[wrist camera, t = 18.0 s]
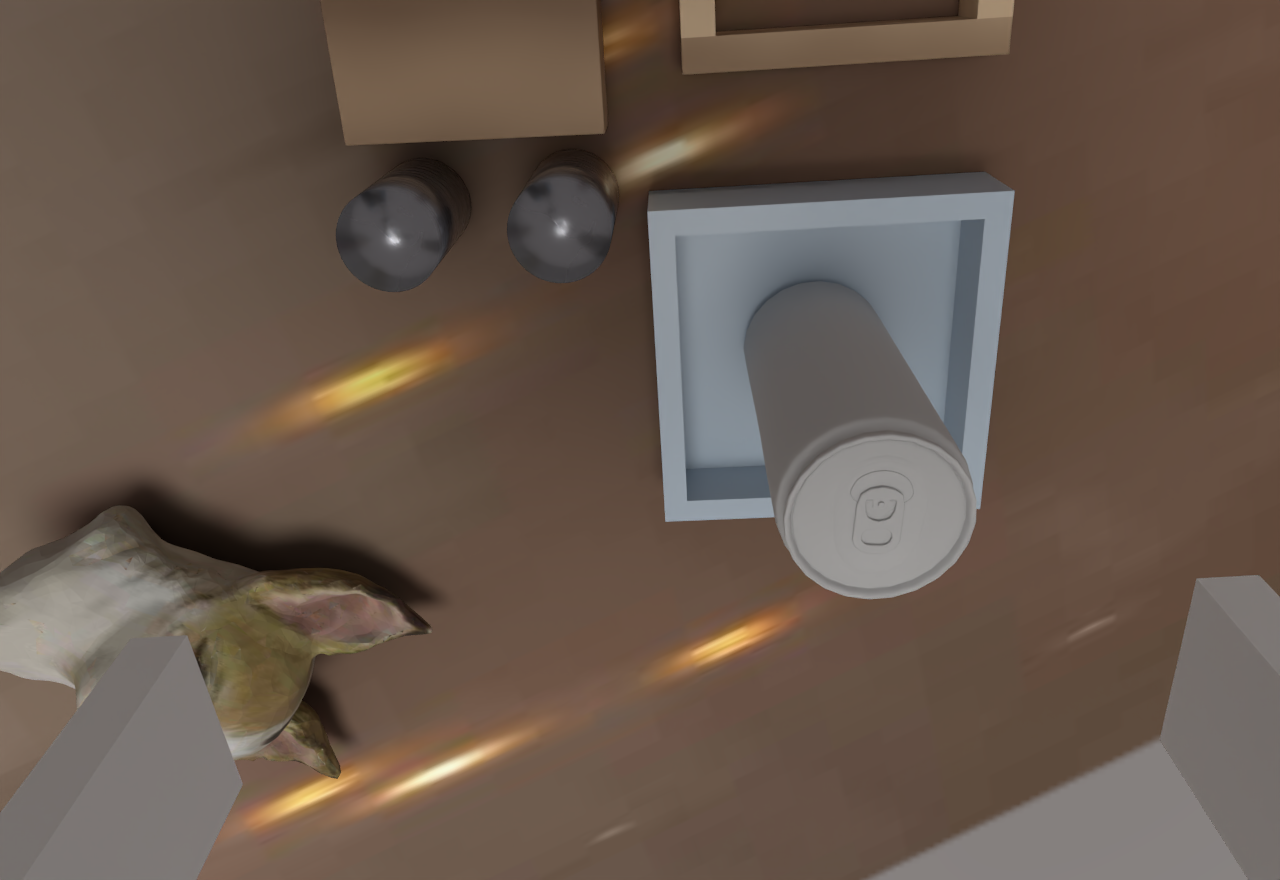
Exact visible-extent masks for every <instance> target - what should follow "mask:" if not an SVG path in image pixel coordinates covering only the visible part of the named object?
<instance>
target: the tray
mask: <svg viewBox="0 0 1280 880" xmlns="http://www.w3.org/2000/svg"><path fill="white" fill-rule="evenodd" d="M1014 192H1015V191H1014V190H1013V189H1011V188H1009V187H1008V186H1006V185H1005V184H1003V183H1002V182H1000V181H999V180H997V179H995V178H994V177H992V176H991V175H989V174H988V173H986V172H970V173H953V174H935V175H918V176H901V177H883V178H866V179H849V180H831V181H814V182H797V183H779V184H762V185H745V186H727V187H710V188H693V189H675V190H658V191H649V197H648V210H647V213H648V230H649V248H650V265H651V282H652V299H653V316H654V333H655V350H656V367H657V384H658V401H659V418H660V435H661V453H662V470H663V487H664V504H665V521H666V522H667V521H692V520H716V519H741V518H766V517H775V516H774V511H773V506H772V501H771V496H770V490H769V485H768V479H767V474H766V468H765V462H764V456H763V450H762V444H761V438H760V432H759V426H758V421H757V416H756V411H755V406H754V401H753V396H752V391H751V386H750V381H749V376H748V371H747V366H746V360H745V354H744V343H745V337H746V332H747V329H748V327H749V325H750V323H751V321H752V319H753V317H754V315H755V314H756V313H757V312H758V310H759V309H760V308H761V307H762V306H763V305H764V304H765V302H766V301H767V300H769V299H770V298H772V297H773V296H775V295H776V294H777V293H779V292H780V291H782V290H784V289H786V288H789V287H792V286H794V285H797V284H800V283H806V282H815V281H823V282H830V283H837V284H840V285H842V286H845V287H847V288H849V289H852V290H854V291H856V292H857V293H858V294H859V295H861V296H862V297H863V298H864V299H866V300H867V301H868V302H869V303H870V305H871V306H872V308H873V309H874V310H875V312H876V313H877V315H878V316H879V318H880V320H881V321H882V323H883V325H884V326H885V328H886V329H887V331H888V333H889V334H890V336H891V338H892V339H893V341H894V343H895V344H896V346H897V348H898V349H899V351H900V352H901V354H902V356H903V357H904V359H905V361H906V362H907V364H908V366H909V367H910V369H911V371H912V372H913V374H914V375H915V377H916V379H917V380H918V382H919V384H920V385H921V387H922V389H923V390H924V392H925V394H926V395H927V397H928V398H929V400H930V402H931V403H932V405H933V407H934V408H935V410H936V412H937V413H938V415H939V417H940V418H941V420H942V421H943V423H944V425H945V426H946V428H947V430H948V431H949V433H950V435H951V436H952V438H953V440H954V441H955V443H956V444H957V446H958V448H959V449H960V451H961V453H962V454H963V456H964V458H965V459H966V461H967V464H968V468H969V471H970V475H971V478H972V482H973V490H974V493H975V497H976V500H977V503H976V509H980V504H981V495H982V486H983V477H984V467H985V458H986V449H987V440H988V431H989V422H990V412H991V403H992V394H993V385H994V376H995V366H996V357H997V348H998V339H999V330H1000V321H1001V311H1002V302H1003V293H1004V284H1005V275H1006V266H1007V256H1008V247H1009V238H1010V229H1011V220H1012V211H1013V201H1014Z"/></svg>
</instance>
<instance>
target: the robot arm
mask: <svg viewBox="0 0 1280 880" xmlns="http://www.w3.org/2000/svg"><path fill="white" fill-rule="evenodd" d="M1160 741H1161V743H1162V744H1163V746H1164V748H1165V749H1166V751H1167V752H1168V754H1169V755H1170V757H1171V759H1172V760H1173V762H1174V763H1175V765H1176V767H1177V768H1178V770H1179V771H1180V773H1181V774H1182V776H1183V778H1184V779H1185V781H1186V782H1187V784H1188V785H1189V787H1190V788H1191V790H1192V792H1193V793H1194V795H1195V797H1196V798H1197V800H1198V801H1199V803H1200V804H1201V806H1202V808H1203V809H1204V811H1205V812H1206V814H1207V815H1208V817H1209V819H1210V820H1211V822H1212V823H1213V825H1214V826H1215V828H1216V830H1217V831H1218V833H1219V834H1220V836H1221V837H1222V839H1223V841H1224V842H1225V844H1226V845H1227V847H1228V848H1229V850H1230V852H1231V853H1232V855H1233V856H1234V858H1235V860H1236V861H1237V863H1238V864H1239V866H1240V867H1241V869H1242V871H1243V872H1244V874H1245V875H1246V877H1247V878H1248V880H1280V597H1279V596H1278V595H1277V594H1276V593H1275V592H1274V591H1273V590H1272V588H1271V587H1270V586H1269V585H1268V584H1267V583H1266V582H1265V581H1264V580H1263V579H1262V578H1261V577H1260V576H1259V575H1253V576H1235V577H1217V578H1200V579H1196V584H1195V588H1194V592H1193V597H1192V601H1191V606H1190V610H1189V614H1188V619H1187V623H1186V627H1185V632H1184V636H1183V640H1182V645H1181V649H1180V654H1179V658H1178V662H1177V667H1176V671H1175V675H1174V680H1173V684H1172V688H1171V693H1170V697H1169V702H1168V706H1167V710H1166V715H1165V719H1164V723H1163V728H1162V732H1161V736H1160ZM242 785H243V783H242V781H241V778H240V775H239V773H238V770H237V767H236V765H235V762H234V759H233V757H232V754H231V751H230V749H229V746H228V743H227V741H226V738H225V735H224V733H223V730H222V727H221V725H220V722H219V719H218V717H217V714H216V711H215V709H214V706H213V703H212V701H211V698H210V695H209V693H208V690H207V687H206V685H205V682H204V679H203V676H202V674H201V671H200V668H199V666H198V663H197V660H196V658H195V655H194V652H193V650H192V647H191V644H190V642H189V639H188V636H187V635H182V636H164V637H146V638H131V639H130V641H129V642H128V643H127V645H126V646H125V647H124V649H123V650H122V651H121V653H120V654H119V655H118V657H117V658H116V659H115V661H114V662H113V663H112V665H111V666H110V667H109V669H108V670H107V671H106V673H105V674H104V675H103V677H102V678H101V679H100V681H99V682H98V683H97V685H96V686H95V687H94V689H93V690H92V691H91V693H90V694H89V695H88V697H87V698H86V699H85V701H84V702H83V703H82V705H81V706H80V707H79V709H78V710H77V711H76V713H75V714H74V715H73V717H72V718H71V719H70V721H69V722H68V723H67V725H66V726H65V727H64V729H63V730H62V731H61V733H60V734H59V735H58V737H57V738H56V739H55V741H54V742H53V743H52V745H51V746H50V747H49V749H48V750H47V751H46V753H45V754H44V755H43V757H42V758H41V759H40V761H39V762H38V763H37V765H36V766H35V767H34V769H33V770H32V771H31V773H30V774H29V775H28V777H27V778H26V779H25V781H24V782H23V783H22V785H21V786H20V787H19V789H18V790H17V791H16V793H15V794H14V795H13V797H12V798H11V799H10V801H9V802H8V803H7V805H6V806H5V807H4V809H3V810H2V811H1V813H0V880H196V879H197V877H198V875H199V873H200V871H201V869H202V867H203V865H204V863H205V861H206V859H207V857H208V855H209V853H210V851H211V848H212V846H213V844H214V842H215V840H216V838H217V836H218V834H219V832H220V830H221V828H222V826H223V824H224V822H225V820H226V818H227V816H228V814H229V812H230V810H231V807H232V805H233V803H234V801H235V799H236V797H237V795H238V793H239V791H240V789H241V787H242Z"/></svg>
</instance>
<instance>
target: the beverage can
mask: <svg viewBox="0 0 1280 880" xmlns="http://www.w3.org/2000/svg"><path fill="white" fill-rule="evenodd" d="M744 354H745V360H746V366H747V371H748V376H749V381H750V386H751V391H752V396H753V401H754V406H755V411H756V416H757V421H758V426H759V432H760V438H761V444H762V450H763V456H764V462H765V468H766V474H767V479H768V485H769V490H770V496H771V501H772V506H773V511H774V516H775V521H776V524H777V527H778V530H779V532H780V535H781V537H782V540H783V542H784V545H785V546H786V547H787V549H788V550H789V551H790V554H791V556H792V559H793V560H794V561H795V562H796V564H797V565H798V566H799V567H800V569H801V570H802V571H803V572H804V573H805V575H806V576H808V577H809V578H810V579H812V580H813V581H815V582H816V583H818V584H819V585H820V586H822V587H823V588H825V589H828V590H830V591H833V592H836V593H838V594H841V595H844V596H848V597H856V598H863V599H878V598H889V597H895V596H899V595H902V594H905V593H908V592H912V591H915V590H918V589H919V588H921V587H923V586H925V585H927V584H928V583H930V582H932V581H934V580H935V579H937V578H939V577H940V576H941V575H942V574H943V573H944V572H945V571H946V570H948V569H949V568H950V567H951V566H952V565H953V564H954V563H955V562H956V561H957V560H958V558H959V557H960V555H961V554H962V552H963V551H964V549H965V548H966V546H967V545H968V543H969V541H970V538H971V535H972V532H973V529H974V526H975V523H976V503H977V500H976V497H975V493H974V490H973V482H972V478H971V475H970V471H969V468H968V464H967V461H966V459H965V458H964V456H963V454H962V453H961V451H960V449H959V448H958V446H957V444H956V443H955V441H954V440H953V438H952V436H951V435H950V433H949V431H948V430H947V428H946V426H945V425H944V423H943V421H942V420H941V418H940V417H939V415H938V413H937V412H936V410H935V408H934V407H933V405H932V403H931V402H930V400H929V398H928V397H927V395H926V394H925V392H924V390H923V389H922V387H921V385H920V384H919V382H918V380H917V379H916V377H915V375H914V374H913V372H912V371H911V369H910V367H909V366H908V364H907V362H906V361H905V359H904V357H903V356H902V354H901V352H900V351H899V349H898V348H897V346H896V344H895V343H894V341H893V339H892V338H891V336H890V334H889V333H888V331H887V329H886V328H885V326H884V325H883V323H882V321H881V320H880V318H879V316H878V315H877V313H876V312H875V310H874V309H873V308H872V306H871V305H870V303H869V302H868V301H867V300H866V299H864V298H863V297H862V296H861V295H859V294H858V293H857V292H856V291H854V290H852V289H849V288H847V287H845V286H842V285H840V284H837V283H830V282H823V281H815V282H806V283H800V284H797V285H794V286H792V287H789V288H786V289H784V290H782V291H780V292H779V293H777V294H776V295H775V296H773V297H772V298H770V299H769V300H767V301H766V302H765V304H764V305H763V306H762V307H761V308H760V309H759V310H758V312H757V313H756V314H755V315H754V317H753V319H752V321H751V323H750V325H749V327H748V329H747V332H746V337H745V343H744Z"/></svg>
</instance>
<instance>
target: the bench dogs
mask: <svg viewBox="0 0 1280 880" xmlns="http://www.w3.org/2000/svg"><path fill="white" fill-rule="evenodd" d="M618 203H619V189H618V184H617V181H616V178H615V176H614V174H613V172H612V170H611V169H610V168H609V166H608V165H607V164H606V163H605V162H604V161H603V160H602V159H600V158H599V157H597V156H596V155H594V154H592V153H590V152H587V151H584V150H578V149H567V150H562V151H558V152H556V153H554V154H552V155H550V156H548V157H547V158H546V159H545V160H543V161H542V162H541V163H540V165H539V166H538V167H537V169H536V170H535V172H534V173H533V175H532V176H531V178H530V179H529V181H528V183H527V184H526V186H525V187H524V189H523V190H522V192H521V193H520V195H519V197H518V198H517V200H516V201H515V203H514V205H513V207H512V208H511V211H510V214H509V218H508V224H507V235H508V240H509V244H510V247H511V250H512V252H513V254H514V256H515V257H516V259H517V260H518V262H519V263H520V264H521V265H522V266H523V267H524V268H525V269H526V270H527V271H528V272H530V273H531V274H533V275H534V276H536V277H538V278H540V279H543V280H545V281H549V282H555V283H569V282H574V281H578V280H580V279H583V278H585V277H586V276H588V275H590V274H591V273H592V272H594V271H595V270H596V269H597V268H598V267H599V266H600V265H601V263H602V262H603V261H604V259H605V257H606V255H607V253H608V250H609V247H610V243H611V238H612V233H613V228H614V224H615V219H616V214H617V209H618ZM470 214H471V201H470V196H469V193H468V190H467V188H466V186H465V184H464V182H463V181H462V179H461V178H460V177H459V175H458V174H457V173H456V172H455V171H454V170H453V169H451V168H450V167H448V166H447V165H445V164H443V163H441V162H439V161H436V160H433V159H427V158H417V159H411V160H408V161H406V162H403V163H401V164H400V165H398V166H397V167H395V168H394V169H393V170H391V171H390V172H389V173H387V174H386V175H385V176H383V177H382V178H381V179H379V180H378V181H377V182H375V183H374V184H372V185H371V186H370V187H368V188H367V189H366V190H364V191H363V192H362V193H360V194H359V195H358V196H356V197H355V198H354V199H352V200H351V201H350V202H349V203H348V204H347V205H346V206H345V208H344V209H343V211H342V212H341V214H340V217H339V219H338V223H337V228H336V241H337V247H338V250H339V253H340V256H341V258H342V260H343V262H344V263H345V265H346V266H347V268H348V269H349V270H350V271H351V273H352V274H353V275H354V276H355V277H357V278H358V279H359V280H360V281H362V282H363V283H365V284H367V285H368V286H370V287H373V288H375V289H378V290H382V291H388V292H400V291H406V290H410V289H412V288H414V287H416V286H418V285H420V284H421V283H423V282H424V281H425V280H426V279H427V278H428V277H429V276H430V275H431V273H432V272H433V271H434V269H435V268H436V267H437V266H438V264H439V263H440V262H441V260H442V259H443V258H444V256H445V255H446V254H447V253H448V251H449V250H450V249H451V247H452V246H453V245H454V243H455V242H456V241H457V239H458V238H459V237H460V236H461V234H462V233H463V231H464V230H465V229H466V227H467V225H468V222H469V219H470Z"/></svg>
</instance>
